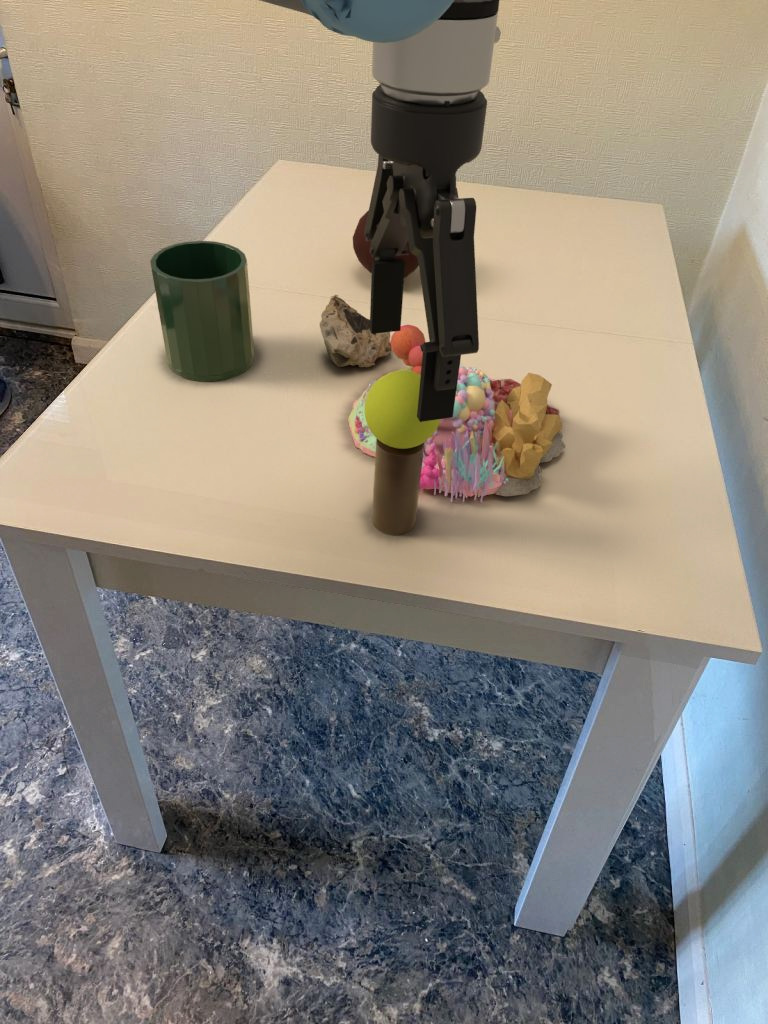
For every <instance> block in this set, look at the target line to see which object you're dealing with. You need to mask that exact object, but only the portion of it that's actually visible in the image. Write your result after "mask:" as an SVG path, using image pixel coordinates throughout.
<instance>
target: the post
mask: <svg viewBox="0 0 768 1024" xmlns="http://www.w3.org/2000/svg"><path fill="white" fill-rule="evenodd" d="M423 452H424V443H422V444H420V445H418V446H416V447H412V448H406V449H400V448H394V447H390V446H388V445H386V444H384V443H382V442H381V441H379V440H378V439H376V456H375V457H374V473H373V475H374V476H373V492H372V493H373V494H372V508H371V509H372V512H371V521H372V524H373V526H374V527H375V528H376V530H378V531H379V532H381V533H383V534H386V535H391V536H401V535H404V534H407V533H409V532H410V531H412V530H413V529H414V527H415V526H416V522H417V513H418V505H419V497H420V489H419V488H420V479H421V470H422V461H423Z"/></svg>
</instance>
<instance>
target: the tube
mask: <svg viewBox="0 0 768 1024" xmlns="http://www.w3.org/2000/svg"><path fill="white" fill-rule="evenodd" d="M149 262H150V269H151V274H152V280H153V286H154V292H155V297H156V303H157V309H158V315H159V321H160V326H161V333H162V338H163V343H164V349H165V355H166V361H167V365H168V367H169V369H170V370H171V371H172V372H173V373H174V374H175V375H177V376H179V377H182V378H183V379H187V380H190V381H196V382H219V381H224V380H229V379H232V378H234V377H237V376H239V375H241V374H243V373H245V372H246V371H247V370H248V369H249V368H250V367H251V366H252V364H253V363H254V359H255V347H254V334H253V333H254V331H253V322H252V320H253V319H252V308H251V295H250V285H249V284H250V283H249V281H250V280H249V269H248V268H249V267H248V259H247V256H246V254H245V252H243V251H242V250H241V249H240V248H238V247H235V246H233V245H232V244H229V243H224V242H220V241H215V240H214V241H213V240H211V241H210V240H194V241H193V240H191V241H183V242H179V243H174V244H170V245H168V246H166V247H163V248H161V249H160V250H158V251H157V252H156V253H154V254H153V255H152V257H151V259H150V261H149Z"/></svg>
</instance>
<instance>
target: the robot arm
mask: <svg viewBox="0 0 768 1024" xmlns="http://www.w3.org/2000/svg"><path fill="white" fill-rule="evenodd" d="M259 1H261V2H263V3H267V4H270V5H274V6H278V7H280V8H285V9H288V10H291V11H292V10H293V11H295V12H299V13H303V14H306V15H309V16H310V17H313V18H314V19H316V20H318V21H319V22H320V24H321V25H322V26H323V27H325V28H326V30H329V31H331V32H333V33H336V34H338V35H340V36H346V37H354V38H357V39H359V40H363V41H366V42H371V43H372V57H371V60H372V61H371V75H372V77H373V79H374V80H375V81H376V82H377V83H378V84H379V85H378V86H376V88H375V89H374V90H373V91H372V92H371V93H372V94H371V117H370V119H371V121H370V144H371V147H372V150H374V152H375V153H376V154H377V155H378V157H377V167H376V172H375V177H374V182H373V187H372V193H371V197H370V201H369V205H368V210H369V211H368V210H367V211H368V216H367V221H366V226H365V231H364V236H365V238H366V241H372V242H371V244H370V253H371V256H372V257H373V258H374V257H375V261H372V274H371V278H370V280H371V281H370V307H369V308H370V310H369V320H370V331H371V333H372V334H376V333H385V332H390V333H394V332H395V331H400V330H401V326H402V317H403V316H402V315H403V300H404V284H405V278H404V272H405V261H404V260H403V258H399V259H395V256H398V255H408V254H409V253H407V251H408V246H407V244H406V243H407V241H408V242H409V249H410V252H411V253H412V254H414V255H415V256H417V258H418V264H419V266H418V270H419V278H420V284H421V292H422V298H423V306H424V312H425V319H426V326H427V333H428V341H425V342H424V344H422V345H421V346H420V348H421V351H422V353H423V356H422V367H421V378H420V388H419V399H418V410H417V418H418V419H419V421H420V422H423V421H430V420H437V419H444V418H452V417H453V411H454V404H455V396H456V389H457V382H458V374H459V367H460V366H461V359H462V358H461V357H462V356H463V355H471V354H477V353H478V352H479V350H480V339H479V318H478V317H479V316H478V315H479V314H478V296H477V295H478V294H477V273H476V252H475V232H476V231H475V230H476V218H477V202H476V199H475V197H463V198H459V191H458V188H457V175H456V174H457V172H458V170H460V168H461V167H462V166H465V164H469V163H471V162H472V161H474V160H475V159H477V158H478V156H479V155H480V153H481V151H482V148H483V141H484V139H483V138H484V130H485V123H486V115H487V108H488V100H487V98H486V97H485V94H484V93H483V91H482V90H483V89H484V88H486V87H487V86H488V85H489V83H490V79H491V71H492V63H493V55H494V47H495V46H494V45H495V44H497V43H498V42H499V41H500V40H501V34H502V32H501V29H500V27H499V26H497V24H498V16H499V15H498V14H499V9H500V0H259ZM377 224H379V225H378V226H376V225H377Z"/></svg>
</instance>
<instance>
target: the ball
mask: <svg viewBox="0 0 768 1024" xmlns="http://www.w3.org/2000/svg"><path fill="white" fill-rule="evenodd" d="M390 372H391V373H390ZM390 372H388V373H386V374H384V375H383V376H381V377H379V378H380V379H379V378H378V379H379V380H378V379H376V380H377V381H376V382H375V381H374V382H375V384H374V385H373V386H372V387H371V389H370V390H369V392H368V395H367V397H366V401H365V408H364V410H365V419H366V422H367V425H368V427H369V429H370V431H371V432H372V433H373V435H374V436H375V437H376V438H377V439H378V440H379V441H381V442H382V443H384V444H386V445H388V446H390V447H394V448H400V449H406V448H412V447H416V446H418V445H420V444H422V443H424V442H425V441H427V440H428V439H429V438H430V437H431V436H432V435H433V434H434V432H435V431H436V429H437V427H438V425H439V423H440V419H437V420H430V421H423V422H420V421H419V419H418V418H417V410H418V399H419V388H420V378H421V375H420V374H418V373H415V372H412V371H398V370H395V372H394V371H390Z"/></svg>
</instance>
